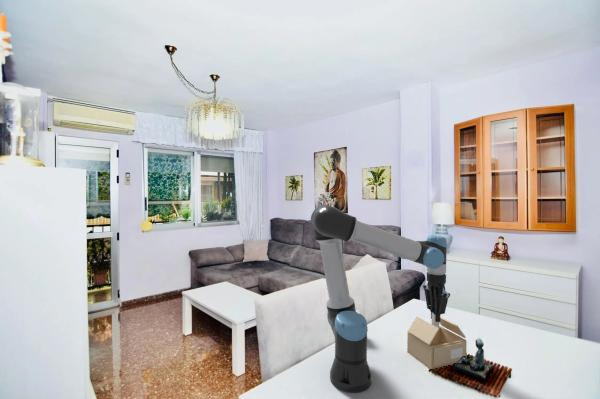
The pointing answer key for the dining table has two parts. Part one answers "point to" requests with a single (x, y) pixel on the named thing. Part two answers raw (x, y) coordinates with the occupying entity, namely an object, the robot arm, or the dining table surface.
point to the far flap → (451, 326)
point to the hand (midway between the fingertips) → (435, 328)
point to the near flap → (423, 330)
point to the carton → (437, 349)
